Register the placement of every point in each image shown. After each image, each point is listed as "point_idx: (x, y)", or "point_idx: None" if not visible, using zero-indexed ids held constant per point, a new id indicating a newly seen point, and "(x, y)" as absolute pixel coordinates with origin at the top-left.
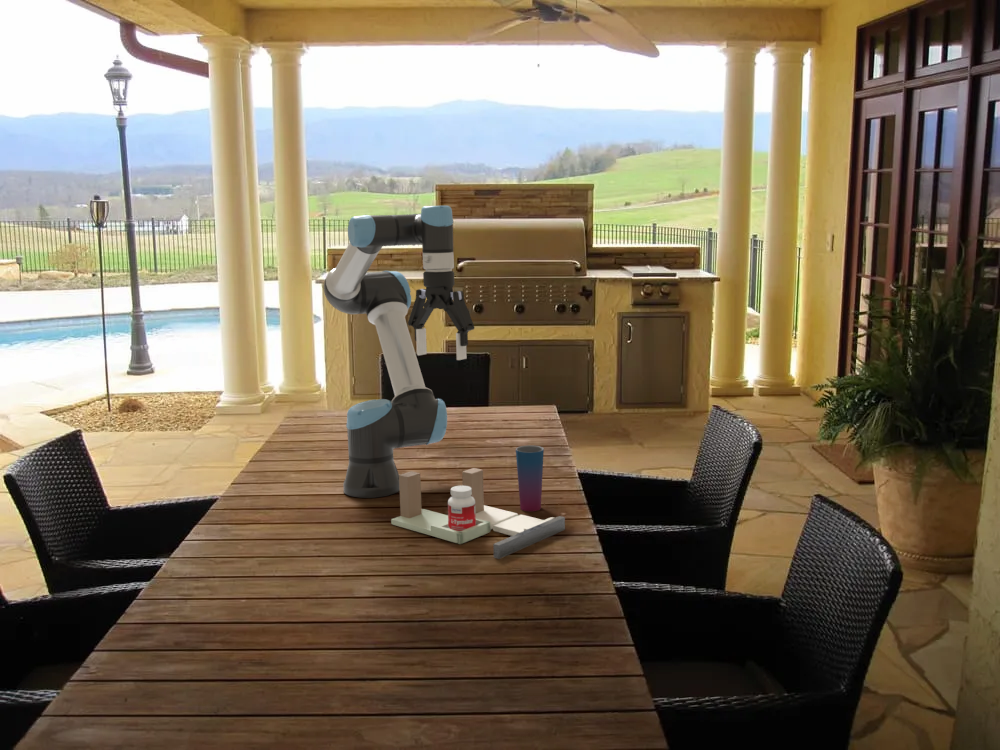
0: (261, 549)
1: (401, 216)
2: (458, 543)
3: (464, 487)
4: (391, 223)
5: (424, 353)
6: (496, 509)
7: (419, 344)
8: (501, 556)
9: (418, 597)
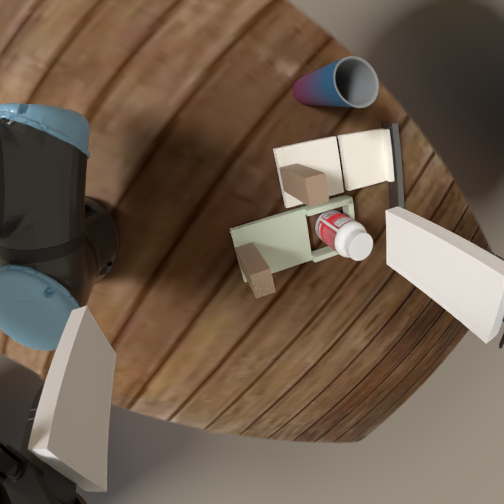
0: (226, 391)
1: None
2: None
3: (361, 241)
4: None
5: (95, 325)
6: (304, 147)
7: (107, 397)
8: None
9: (394, 315)
